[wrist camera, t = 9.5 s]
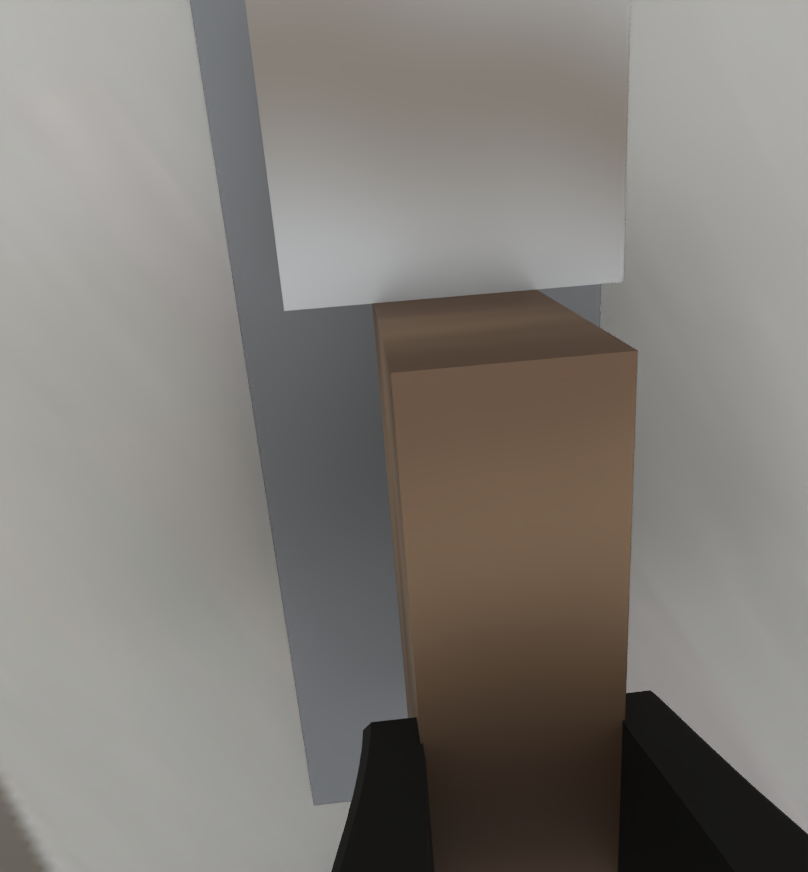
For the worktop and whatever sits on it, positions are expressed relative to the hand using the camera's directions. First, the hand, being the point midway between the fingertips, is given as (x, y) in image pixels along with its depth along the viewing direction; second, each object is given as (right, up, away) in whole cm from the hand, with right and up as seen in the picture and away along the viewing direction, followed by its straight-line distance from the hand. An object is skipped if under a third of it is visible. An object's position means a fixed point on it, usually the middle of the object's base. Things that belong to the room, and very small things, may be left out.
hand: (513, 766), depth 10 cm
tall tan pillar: (0, +3, +3) cm, 5 cm away
